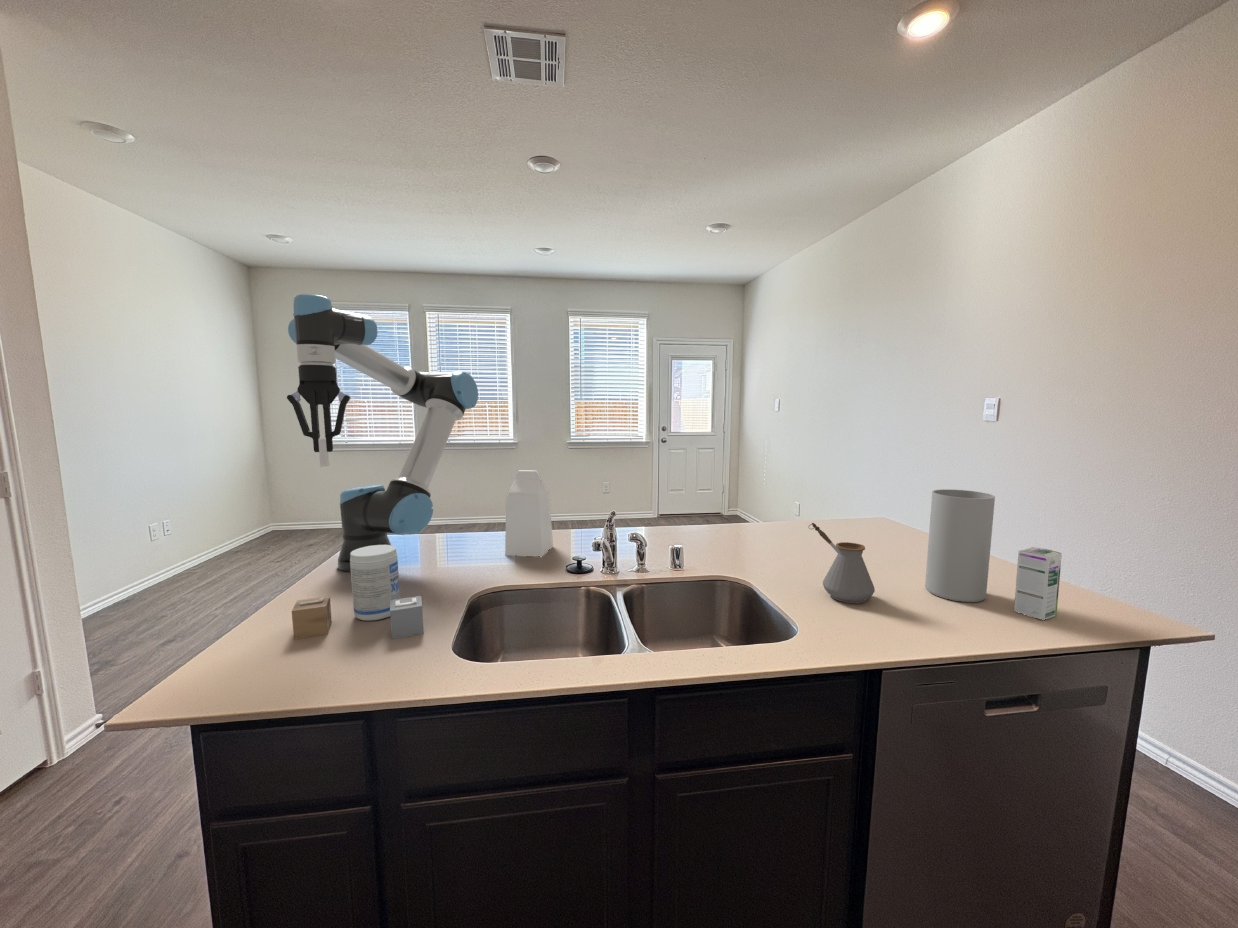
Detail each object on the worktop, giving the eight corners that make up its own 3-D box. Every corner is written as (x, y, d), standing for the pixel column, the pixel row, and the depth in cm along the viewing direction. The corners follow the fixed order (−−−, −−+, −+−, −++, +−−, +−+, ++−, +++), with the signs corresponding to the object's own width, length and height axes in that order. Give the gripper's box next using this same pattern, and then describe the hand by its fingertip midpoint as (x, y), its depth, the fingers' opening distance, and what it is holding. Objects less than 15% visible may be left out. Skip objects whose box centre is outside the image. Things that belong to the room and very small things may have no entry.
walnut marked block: (299, 627, 106) (297, 598, 105) (331, 622, 108) (329, 594, 108) (294, 639, 101) (291, 609, 100) (328, 633, 103) (325, 604, 102)
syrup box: (1044, 621, 107) (1050, 556, 106) (1012, 611, 113) (1018, 549, 111) (1056, 616, 110) (1063, 552, 108) (1025, 606, 115) (1031, 545, 114)
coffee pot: (885, 604, 117) (889, 541, 115) (842, 608, 114) (846, 545, 113) (827, 574, 138) (830, 520, 136) (790, 577, 135) (792, 523, 133)
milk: (505, 555, 156) (502, 472, 152) (518, 545, 167) (516, 467, 164) (542, 557, 154) (540, 473, 150) (553, 546, 165) (551, 468, 162)
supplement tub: (404, 615, 112) (400, 551, 110) (356, 626, 106) (352, 559, 105) (396, 601, 120) (392, 541, 118) (351, 610, 114) (347, 548, 113)
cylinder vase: (995, 596, 121) (1005, 495, 118) (970, 607, 115) (979, 500, 112) (941, 581, 132) (948, 487, 129) (914, 590, 126) (921, 492, 122)
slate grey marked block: (392, 627, 106) (390, 598, 105) (422, 622, 108) (420, 594, 108) (391, 639, 101) (390, 609, 100) (423, 633, 103) (422, 604, 102)
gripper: (280, 362, 110) (289, 469, 113) (347, 364, 115) (354, 466, 118) (287, 365, 117) (295, 465, 119) (350, 366, 122) (356, 462, 125)
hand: (324, 465), depth 119 cm, fingers closed
